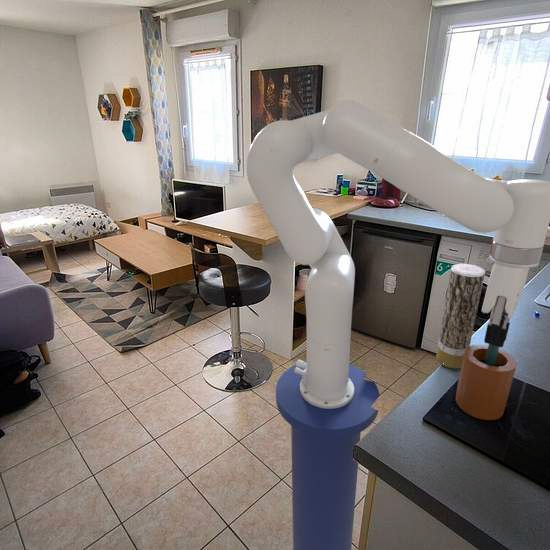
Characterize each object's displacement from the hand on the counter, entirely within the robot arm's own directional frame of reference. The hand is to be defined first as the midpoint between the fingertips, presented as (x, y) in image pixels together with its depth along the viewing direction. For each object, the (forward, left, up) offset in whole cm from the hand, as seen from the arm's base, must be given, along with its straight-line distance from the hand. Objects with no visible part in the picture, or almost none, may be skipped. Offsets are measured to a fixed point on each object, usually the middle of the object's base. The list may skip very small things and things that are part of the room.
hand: (494, 340), depth 71 cm
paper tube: (-9, +12, -16) cm, 22 cm away
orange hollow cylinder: (0, 0, -16) cm, 16 cm away
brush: (0, 0, -12) cm, 12 cm away
